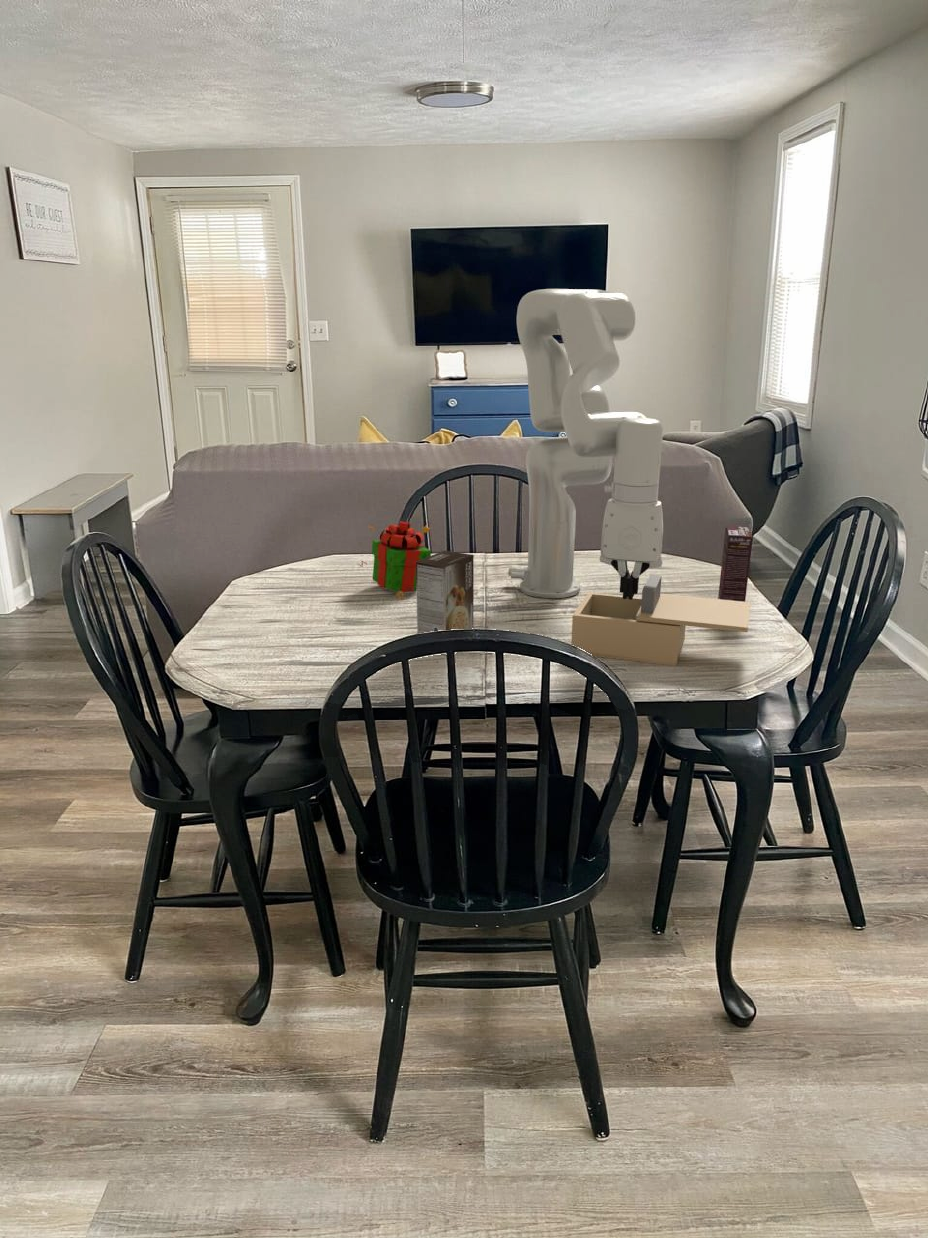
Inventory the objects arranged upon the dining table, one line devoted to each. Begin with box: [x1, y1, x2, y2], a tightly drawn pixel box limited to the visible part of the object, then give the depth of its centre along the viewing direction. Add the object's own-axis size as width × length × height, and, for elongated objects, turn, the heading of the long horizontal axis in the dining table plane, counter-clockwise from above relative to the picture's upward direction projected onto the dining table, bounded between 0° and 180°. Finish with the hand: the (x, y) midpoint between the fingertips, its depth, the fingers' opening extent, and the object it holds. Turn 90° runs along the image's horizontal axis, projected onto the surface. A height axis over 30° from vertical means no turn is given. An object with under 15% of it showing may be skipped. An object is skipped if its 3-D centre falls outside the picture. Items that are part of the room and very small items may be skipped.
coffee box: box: [415, 550, 475, 634], centre depth 162 cm, size 9×6×16 cm
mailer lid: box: [636, 574, 752, 633], centre depth 158 cm, size 18×14×5 cm
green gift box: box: [357, 521, 432, 599], centre depth 197 cm, size 20×19×14 cm
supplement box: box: [717, 525, 754, 602], centre depth 183 cm, size 9×5×16 cm, turn 168°
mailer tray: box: [570, 591, 687, 667], centre depth 164 cm, size 18×14×7 cm
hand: (628, 596), depth 162 cm, fingers closed
